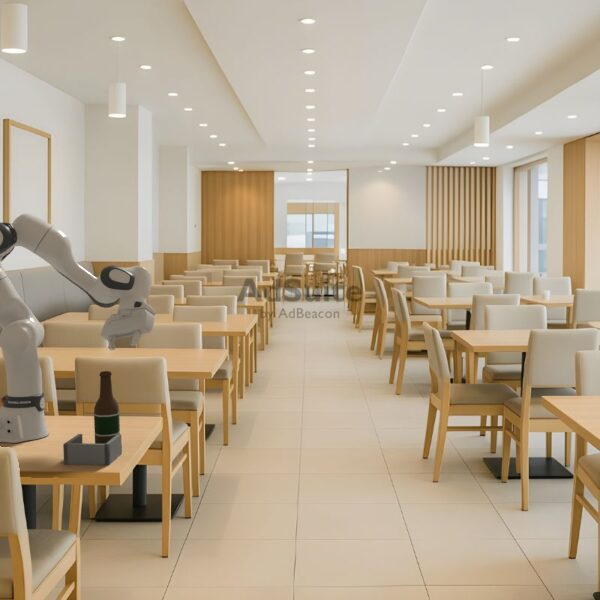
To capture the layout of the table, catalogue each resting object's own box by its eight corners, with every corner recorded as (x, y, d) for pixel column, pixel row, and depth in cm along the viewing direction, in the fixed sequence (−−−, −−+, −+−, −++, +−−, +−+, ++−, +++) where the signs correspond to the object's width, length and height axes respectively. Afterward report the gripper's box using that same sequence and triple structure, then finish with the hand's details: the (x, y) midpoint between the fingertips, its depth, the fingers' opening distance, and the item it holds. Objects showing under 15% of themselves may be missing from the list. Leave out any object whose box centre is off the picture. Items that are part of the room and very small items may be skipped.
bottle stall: (63, 464, 232) (63, 444, 231) (79, 453, 244) (78, 433, 243) (108, 465, 230) (108, 444, 230) (121, 453, 243) (121, 434, 242)
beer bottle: (97, 451, 245) (94, 374, 243) (93, 445, 252) (90, 370, 250) (122, 448, 248) (120, 372, 246) (117, 443, 255) (115, 369, 253)
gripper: (102, 311, 271) (92, 347, 264) (147, 301, 261) (138, 338, 254) (115, 320, 276) (105, 355, 269) (160, 310, 265) (151, 347, 258)
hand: (121, 347), depth 261 cm, fingers open, 8 cm apart
